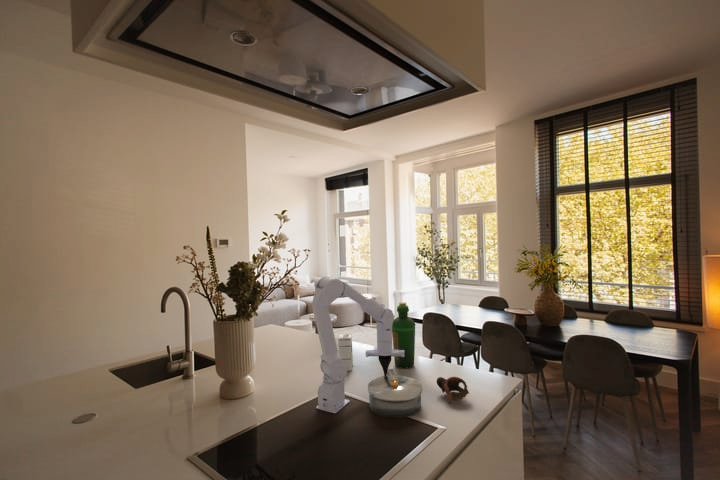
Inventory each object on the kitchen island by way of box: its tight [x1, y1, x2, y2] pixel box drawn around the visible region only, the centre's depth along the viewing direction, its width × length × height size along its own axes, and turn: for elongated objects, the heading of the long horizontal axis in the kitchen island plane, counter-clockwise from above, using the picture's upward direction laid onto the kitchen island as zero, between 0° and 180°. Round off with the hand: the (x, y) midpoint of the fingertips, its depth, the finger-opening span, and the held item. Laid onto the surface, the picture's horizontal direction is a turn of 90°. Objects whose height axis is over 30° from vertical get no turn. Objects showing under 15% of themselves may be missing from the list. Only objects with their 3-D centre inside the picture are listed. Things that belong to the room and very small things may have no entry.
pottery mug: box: [436, 376, 470, 404], centre depth 122 cm, size 12×10×8 cm
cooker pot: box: [368, 393, 422, 419], centre depth 121 cm, size 24×18×5 cm
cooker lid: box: [367, 368, 423, 402], centre depth 121 cm, size 25×18×3 cm
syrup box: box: [337, 333, 354, 372], centre depth 152 cm, size 6×6×14 cm
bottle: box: [392, 302, 416, 370], centre depth 154 cm, size 11×11×28 cm
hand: (385, 375), depth 130 cm, fingers closed
